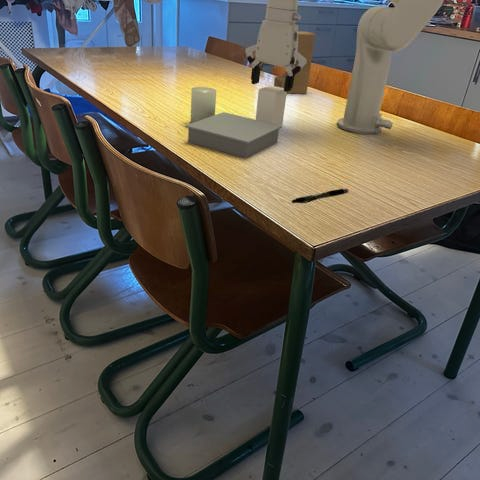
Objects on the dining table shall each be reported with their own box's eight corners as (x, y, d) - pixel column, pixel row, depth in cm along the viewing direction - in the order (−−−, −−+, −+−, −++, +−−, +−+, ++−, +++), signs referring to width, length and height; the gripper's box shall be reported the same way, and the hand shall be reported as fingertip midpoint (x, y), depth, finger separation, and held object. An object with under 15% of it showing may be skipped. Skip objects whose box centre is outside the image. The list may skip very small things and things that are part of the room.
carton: (282, 125, 134) (287, 88, 129) (271, 130, 129) (275, 92, 124) (266, 121, 136) (270, 85, 131) (254, 126, 131) (258, 89, 126)
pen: (294, 207, 89) (296, 203, 89) (289, 201, 90) (291, 197, 90) (350, 195, 96) (352, 191, 95) (345, 190, 97) (347, 186, 96)
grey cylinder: (218, 124, 130) (220, 90, 126) (205, 129, 125) (207, 94, 121) (199, 119, 133) (200, 85, 128) (185, 123, 128) (186, 89, 123)
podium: (279, 141, 121) (281, 126, 119) (246, 159, 108) (248, 141, 106) (222, 127, 128) (223, 112, 126) (185, 141, 115) (185, 125, 113)
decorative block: (279, 94, 168) (286, 32, 158) (272, 90, 173) (279, 30, 163) (307, 94, 172) (316, 34, 162) (300, 90, 176) (308, 31, 167)
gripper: (318, 21, 119) (306, 92, 127) (257, 11, 125) (249, 79, 134) (306, 22, 113) (294, 96, 121) (243, 11, 120) (235, 82, 128)
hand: (270, 87), depth 127 cm, fingers open, 9 cm apart
